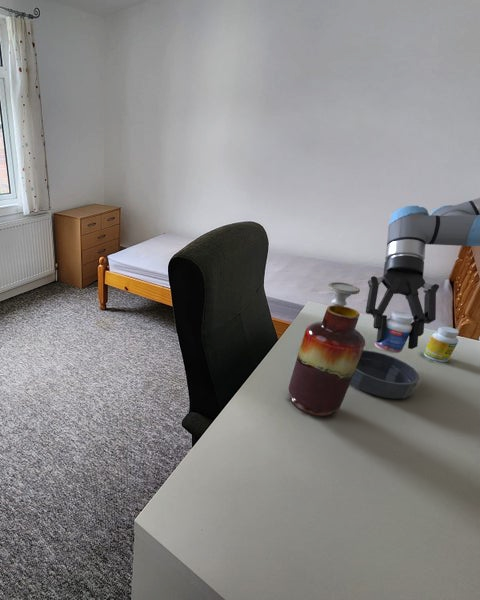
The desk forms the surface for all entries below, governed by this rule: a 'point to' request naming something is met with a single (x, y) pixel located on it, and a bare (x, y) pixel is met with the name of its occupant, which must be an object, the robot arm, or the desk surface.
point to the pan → (384, 376)
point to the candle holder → (342, 292)
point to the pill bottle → (396, 332)
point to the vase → (326, 362)
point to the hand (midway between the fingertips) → (396, 343)
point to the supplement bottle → (442, 344)
